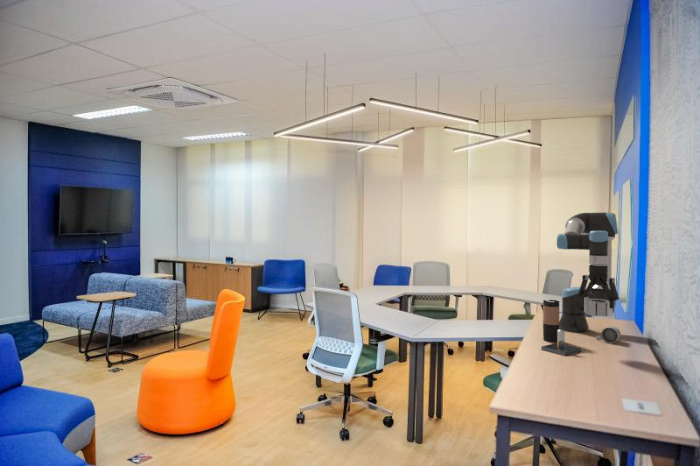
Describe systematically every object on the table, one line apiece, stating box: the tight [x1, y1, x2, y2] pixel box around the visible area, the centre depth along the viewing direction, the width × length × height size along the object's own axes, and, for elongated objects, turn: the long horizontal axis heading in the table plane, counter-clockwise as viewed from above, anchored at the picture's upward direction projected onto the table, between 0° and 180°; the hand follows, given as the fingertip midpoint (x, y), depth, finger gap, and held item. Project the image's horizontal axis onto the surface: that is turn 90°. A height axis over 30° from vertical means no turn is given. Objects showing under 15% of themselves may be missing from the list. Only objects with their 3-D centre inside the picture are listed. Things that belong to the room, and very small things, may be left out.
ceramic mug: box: [595, 326, 622, 344], centre depth 234 cm, size 11×8×8 cm
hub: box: [585, 299, 609, 317], centre depth 213 cm, size 10×10×6 cm
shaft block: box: [540, 329, 582, 357], centre depth 217 cm, size 12×12×10 cm
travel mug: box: [542, 299, 560, 343], centre depth 235 cm, size 8×8×20 cm
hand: (597, 313), depth 213 cm, fingers closed on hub, 10 cm apart
